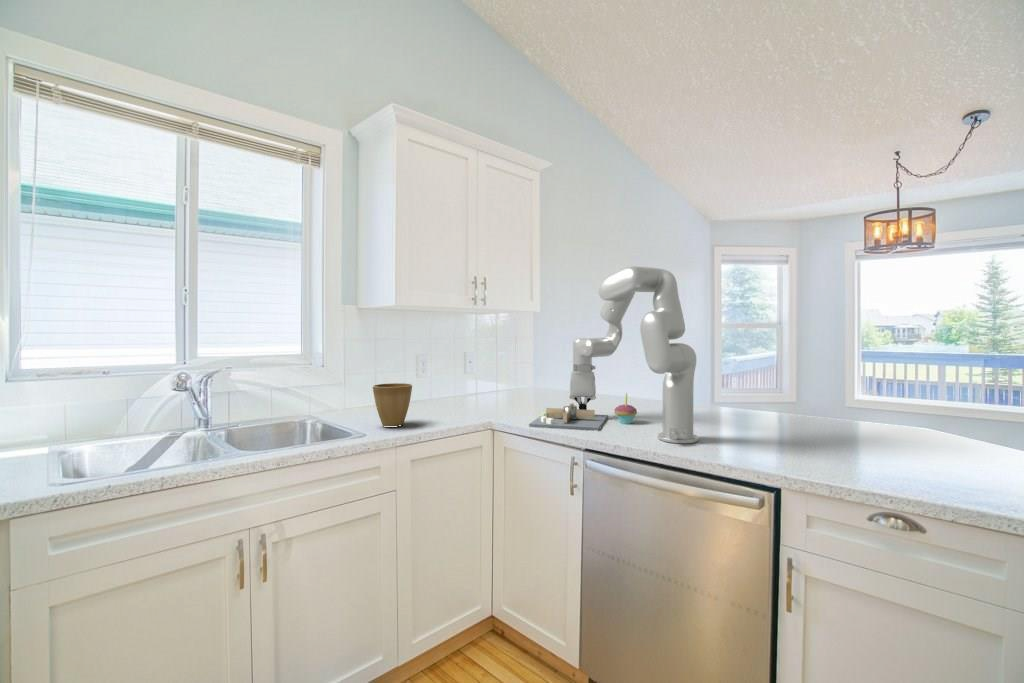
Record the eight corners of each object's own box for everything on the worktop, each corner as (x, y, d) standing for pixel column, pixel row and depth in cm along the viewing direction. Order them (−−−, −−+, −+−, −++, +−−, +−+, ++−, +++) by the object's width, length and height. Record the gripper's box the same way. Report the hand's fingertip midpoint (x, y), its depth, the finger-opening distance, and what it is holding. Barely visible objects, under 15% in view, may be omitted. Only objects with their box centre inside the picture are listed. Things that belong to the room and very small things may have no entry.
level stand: (598, 430, 168) (598, 422, 168) (529, 426, 177) (529, 419, 177) (607, 417, 193) (607, 410, 193) (546, 414, 201) (546, 407, 201)
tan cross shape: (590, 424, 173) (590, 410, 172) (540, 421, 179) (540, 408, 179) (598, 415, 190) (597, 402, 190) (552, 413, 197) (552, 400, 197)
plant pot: (407, 429, 173) (407, 387, 173) (368, 430, 174) (367, 387, 173) (416, 421, 188) (416, 382, 188) (380, 422, 189) (379, 382, 188)
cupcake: (639, 425, 177) (639, 393, 177) (616, 425, 177) (616, 393, 177) (633, 420, 186) (633, 390, 185) (612, 420, 186) (612, 390, 186)
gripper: (601, 368, 192) (602, 412, 192) (565, 367, 196) (566, 411, 196) (600, 369, 184) (600, 416, 185) (562, 369, 188) (563, 414, 189)
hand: (582, 413), depth 190 cm, fingers closed
